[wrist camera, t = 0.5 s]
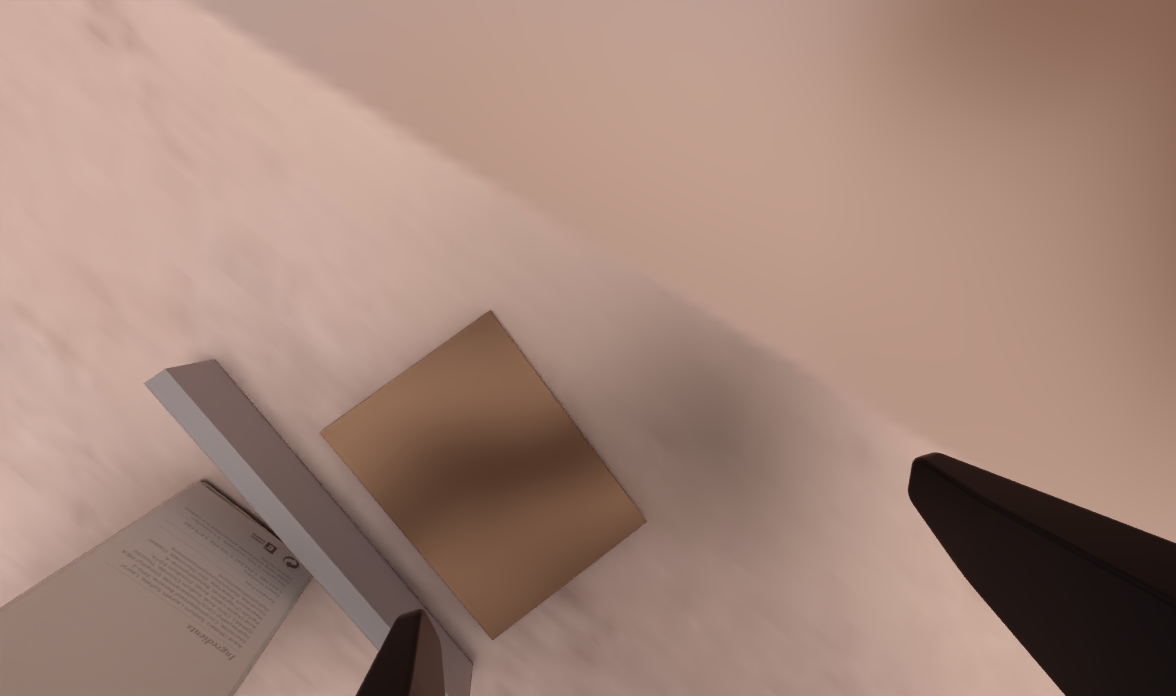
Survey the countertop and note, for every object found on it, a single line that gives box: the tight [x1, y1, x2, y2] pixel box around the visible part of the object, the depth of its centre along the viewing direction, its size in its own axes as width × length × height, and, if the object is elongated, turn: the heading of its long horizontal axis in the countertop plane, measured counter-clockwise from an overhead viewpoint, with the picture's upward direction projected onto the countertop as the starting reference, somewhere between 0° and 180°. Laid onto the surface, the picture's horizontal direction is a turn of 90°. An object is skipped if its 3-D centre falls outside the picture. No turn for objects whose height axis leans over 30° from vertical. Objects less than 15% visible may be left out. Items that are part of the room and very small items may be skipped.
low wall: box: [144, 360, 473, 696], centre depth 20 cm, size 16×1×3 cm, turn 35°
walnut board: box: [320, 311, 647, 640], centre depth 22 cm, size 11×8×1 cm
